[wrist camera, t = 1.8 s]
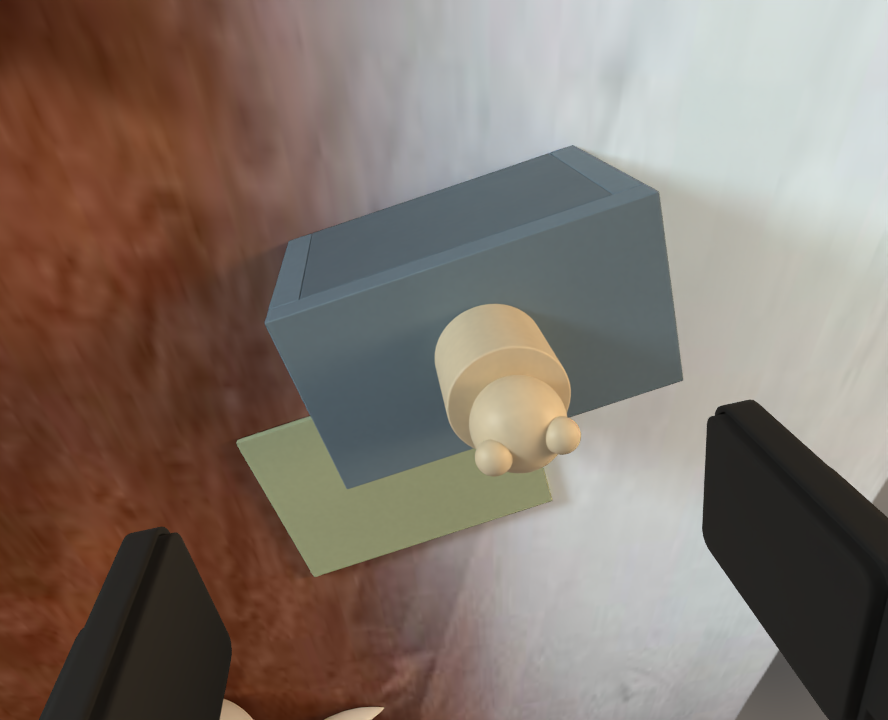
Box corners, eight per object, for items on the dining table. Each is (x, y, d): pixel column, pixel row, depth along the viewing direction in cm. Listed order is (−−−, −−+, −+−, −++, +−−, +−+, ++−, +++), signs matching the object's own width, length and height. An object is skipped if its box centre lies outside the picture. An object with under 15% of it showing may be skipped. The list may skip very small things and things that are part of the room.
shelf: (573, 144, 37) (659, 191, 27) (601, 292, 42) (683, 380, 32) (288, 240, 38) (263, 323, 27) (348, 376, 43) (346, 490, 32)
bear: (529, 287, 28) (588, 375, 21) (555, 391, 31) (615, 500, 24) (419, 324, 28) (442, 423, 21) (455, 424, 31) (485, 541, 24)
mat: (509, 350, 43) (511, 353, 43) (551, 496, 50) (552, 501, 50) (237, 439, 44) (235, 443, 44) (314, 572, 51) (314, 577, 50)
